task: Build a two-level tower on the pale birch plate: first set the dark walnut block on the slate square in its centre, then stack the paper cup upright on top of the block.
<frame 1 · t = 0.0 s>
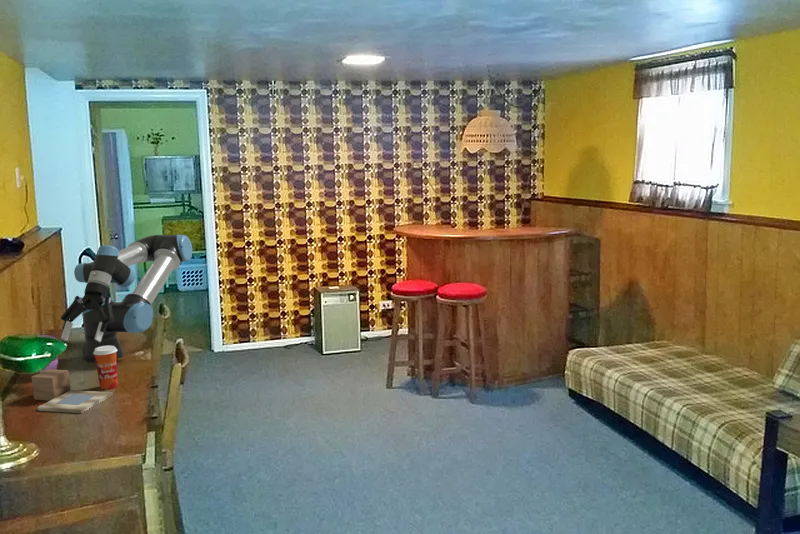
hand: (80, 340, 257), 15 cm above the table, tool tilted 35°, fingers open, 13 cm apart
toy chair: (49, 376, 268), on the table
walnut block: (52, 396, 245), on the table
blueprint plate: (76, 403, 238), on the table
paper cup: (109, 387, 253), on the table
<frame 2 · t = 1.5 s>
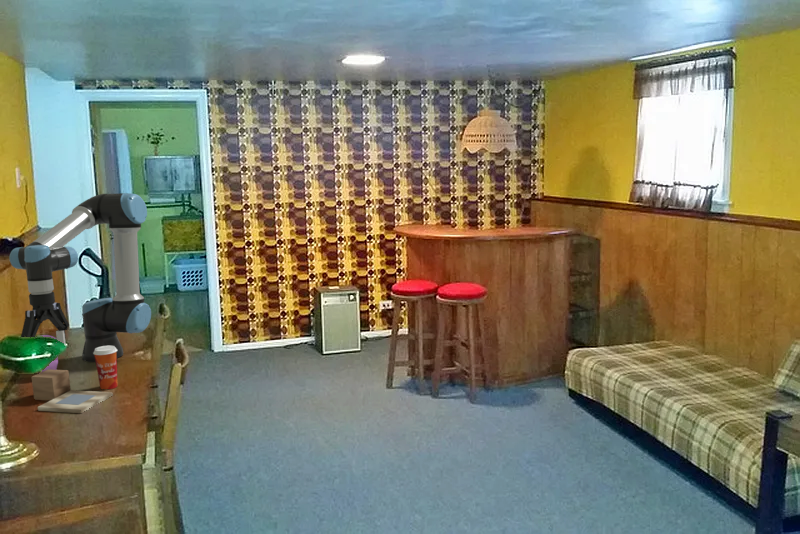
hand: (48, 354, 243), 14 cm above the table, tool pointing down, fingers open, 13 cm apart
nothing on the table moved.
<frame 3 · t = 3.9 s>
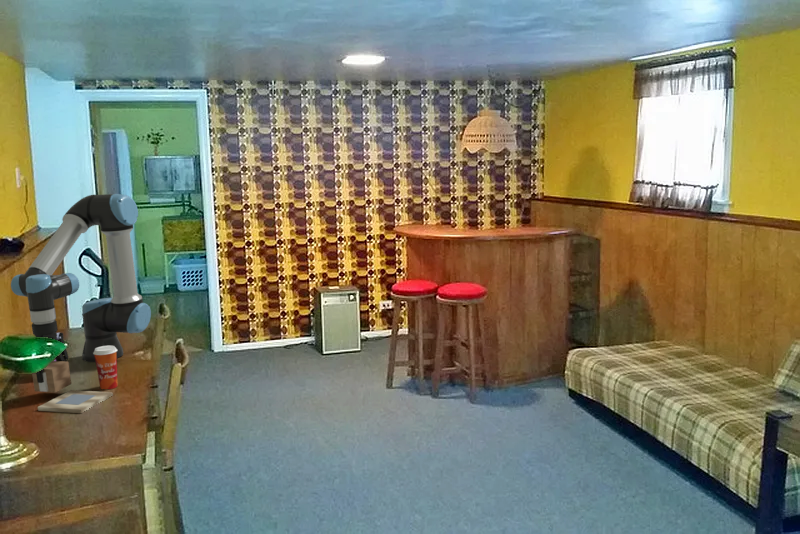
hand: (53, 386, 246), 3 cm above the table, tool pointing down, fingers closed on walnut block, 8 cm apart
walnut block: (53, 387, 246), point 3 cm above the table, touching gripper
everything else where it was.
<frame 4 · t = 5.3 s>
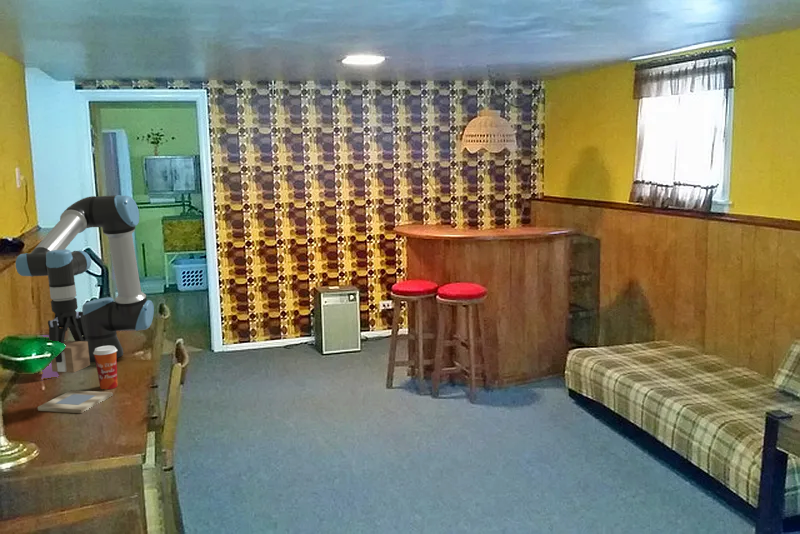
hand: (71, 367, 235), 12 cm above the table, tool pointing down, fingers closed on walnut block, 8 cm apart
walnut block: (71, 368, 235), point 12 cm above the table, touching gripper
everything else where it was.
when the fingers open (2 cm above the table, at t = 6.7 s): walnut block stays where it is, resting on blueprint plate.
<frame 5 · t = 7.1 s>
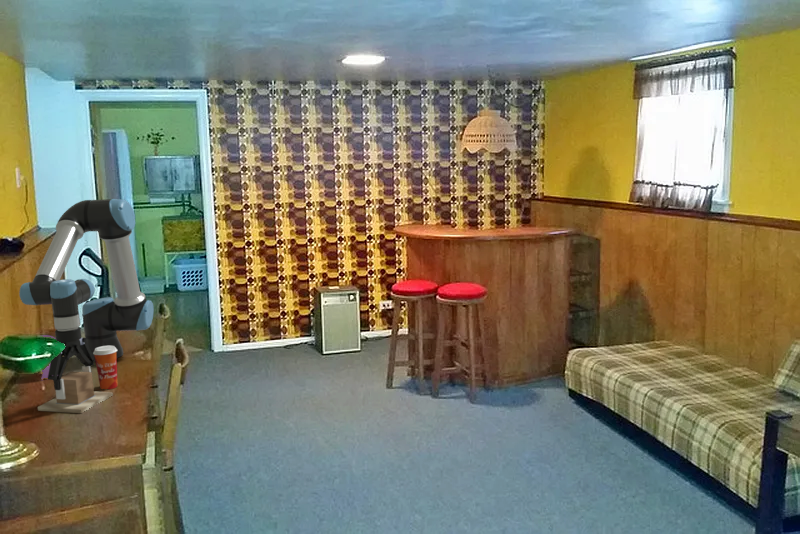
hand: (75, 391, 237), 4 cm above the table, tool pointing down, fingers open, 13 cm apart
walnut block: (75, 399, 237), point 1 cm above the table, touching blueprint plate
everything else where it was.
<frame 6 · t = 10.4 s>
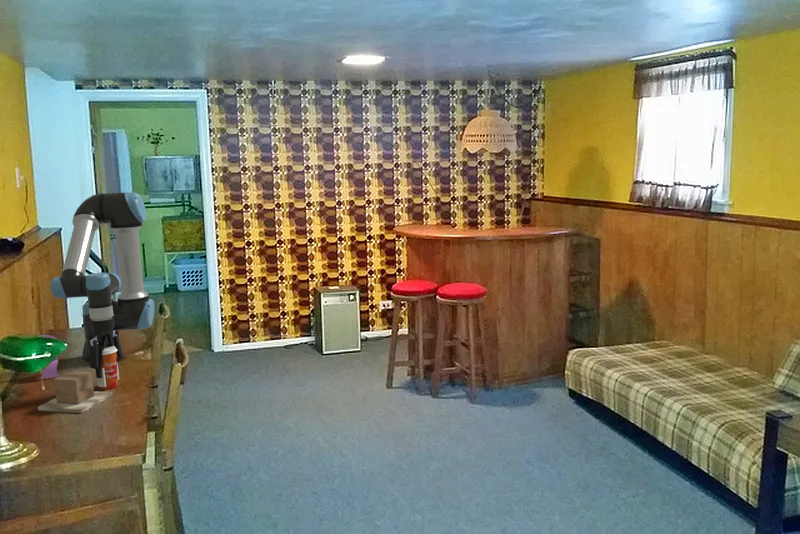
hand: (108, 382, 252), 2 cm above the table, tool pointing down, fingers closed on paper cup, 7 cm apart
paper cup: (109, 387, 253), on the table, touching gripper
everything else where it was.
when the fingers open (12 cm above the table, at t = 13.9 s): paper cup stays where it is, resting on walnut block.
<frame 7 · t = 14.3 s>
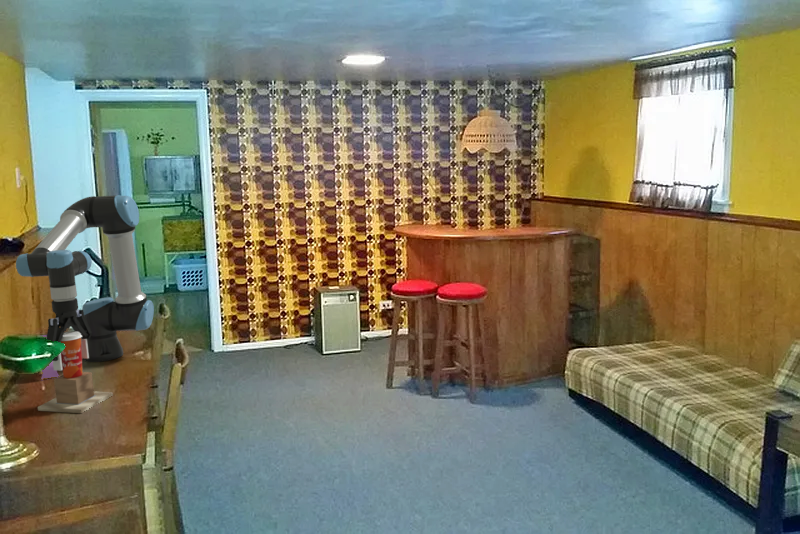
hand: (71, 364, 235), 13 cm above the table, tool pointing down, fingers open, 12 cm apart
walnut block: (75, 399, 237), point 1 cm above the table, touching blueprint plate, paper cup
paper cup: (73, 376, 236), point 9 cm above the table, touching walnut block
everything else where it was.
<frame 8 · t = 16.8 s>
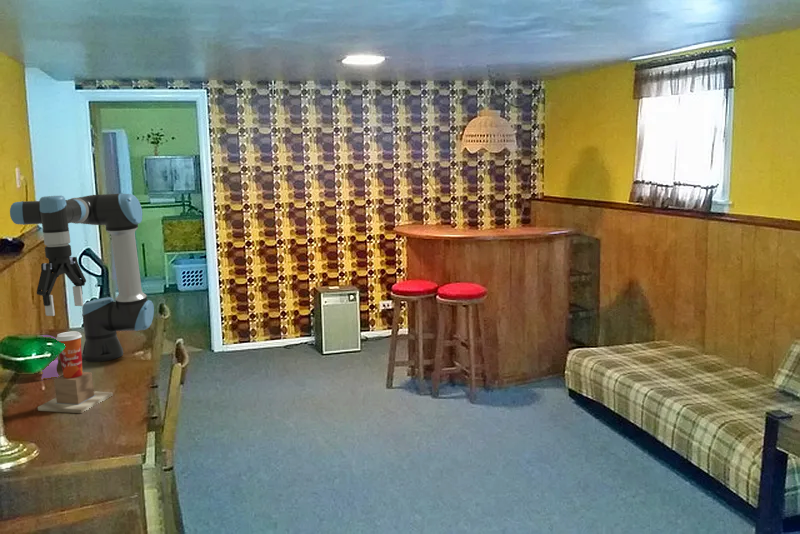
hand: (65, 310, 234), 31 cm above the table, tool pointing down, fingers open, 13 cm apart
nothing on the table moved.
at the end: walnut block 0.0 cm off-centre on the blueprint plate, point 1.3 cm above the blueprint plate's base; paper cup inside the target area on the walnut block (0.1 cm from its centre), point 7.8 cm above the walnut block's base; paper cup tilted 0° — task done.
